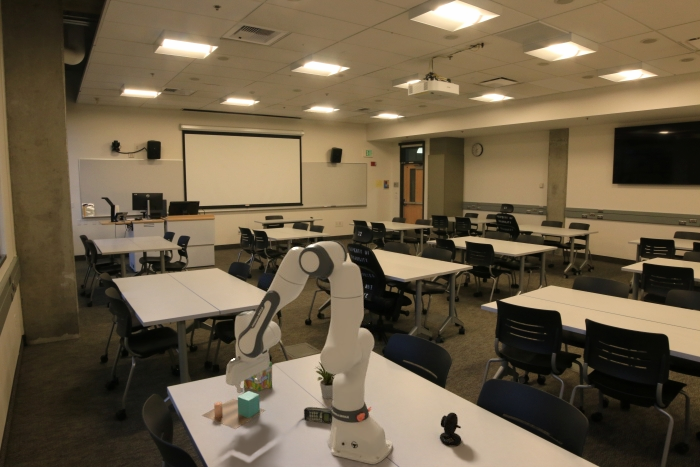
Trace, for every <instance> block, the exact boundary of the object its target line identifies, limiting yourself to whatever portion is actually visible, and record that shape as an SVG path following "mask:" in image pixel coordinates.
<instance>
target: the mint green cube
mask: <svg viewBox="0 0 700 467" xmlns="http://www.w3.org/2000/svg"><path fill="white" fill-rule="evenodd" d="M237 400H238V414H239V415H242V416H244V417H247V418H250V417H252V416H254V415H255V414H257V413H258V412H260V408H261V407H260V403H261V402H260V394H259V393H256V392H253V391H249V390H248V391H246V392H244V393H242V394H240V395H238V396H237Z"/></svg>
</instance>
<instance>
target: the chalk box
mask: <svg viewBox="0 0 700 467" xmlns="http://www.w3.org/2000/svg"><path fill="white" fill-rule="evenodd" d="M256 376H257V374H256V375H254V376H252V377H250V378H248V379H246V380H244V381H243V388H245V389H246V388H247V389H250V390H255V391H257V392H261V391H262V390H264V389H265V388H267V389H270V388H273V362H272V361H270V364H269V367H268V368H267V369H265V370H263V371H262V376H261V378H260V380H261V382H260V383H258V384H257V383H255V378H256Z"/></svg>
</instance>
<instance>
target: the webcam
mask: <svg viewBox="0 0 700 467" xmlns="http://www.w3.org/2000/svg"><path fill="white" fill-rule="evenodd" d="M458 421H459V418H458V415H457V413H455V412H449V413H448V414H447V415H445V414H444V415H443V416H442V418H441V420H440V427H441V428H443V432H441V434H440V435H439V440H440V442H441V443H442V444H443V445H446V446H449V447H456V446H459V445H460V444H461V443H462V437H461V436H460V435H459V434H458V433H456V431H457V429H461V428H462V427H461V426H460V425H458ZM445 438H447V439H450V440H447V439H445ZM451 440H452V441H451Z"/></svg>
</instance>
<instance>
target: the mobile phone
mask: <svg viewBox="0 0 700 467" xmlns="http://www.w3.org/2000/svg"><path fill="white" fill-rule="evenodd" d="M303 418H304V421H307V422H309V421H310V422H318V423H324V424H332V414H331V408H324V407H313V406H310V407H309V406H308V407H305V408H304V409H303Z"/></svg>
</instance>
